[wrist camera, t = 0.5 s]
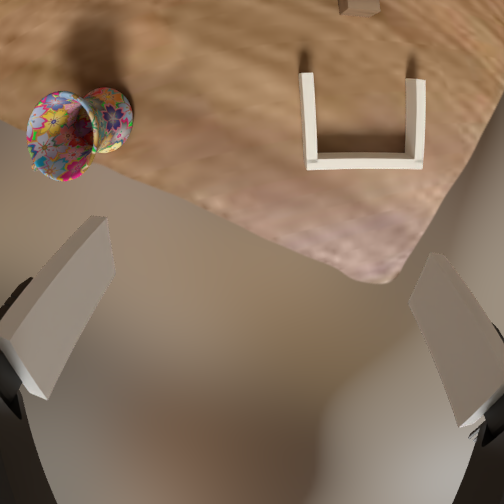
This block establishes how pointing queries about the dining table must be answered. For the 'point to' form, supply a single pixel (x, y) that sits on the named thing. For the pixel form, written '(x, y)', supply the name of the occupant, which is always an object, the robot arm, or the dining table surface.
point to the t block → (359, 7)
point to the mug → (76, 130)
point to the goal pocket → (365, 159)
